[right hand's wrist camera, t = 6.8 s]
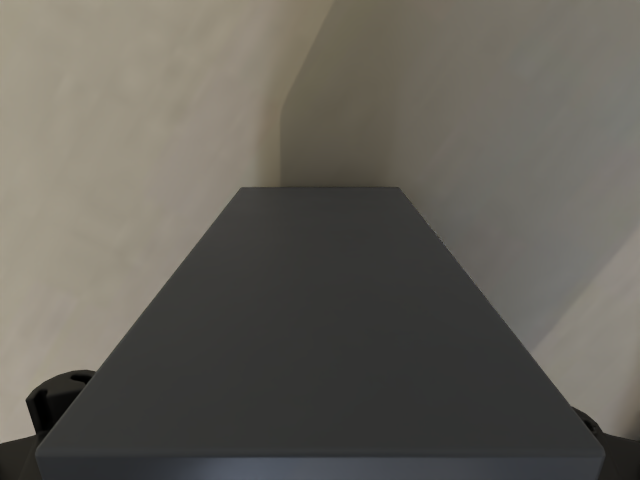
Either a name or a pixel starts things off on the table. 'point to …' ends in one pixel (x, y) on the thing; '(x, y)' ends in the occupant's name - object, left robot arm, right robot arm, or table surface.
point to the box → (320, 361)
